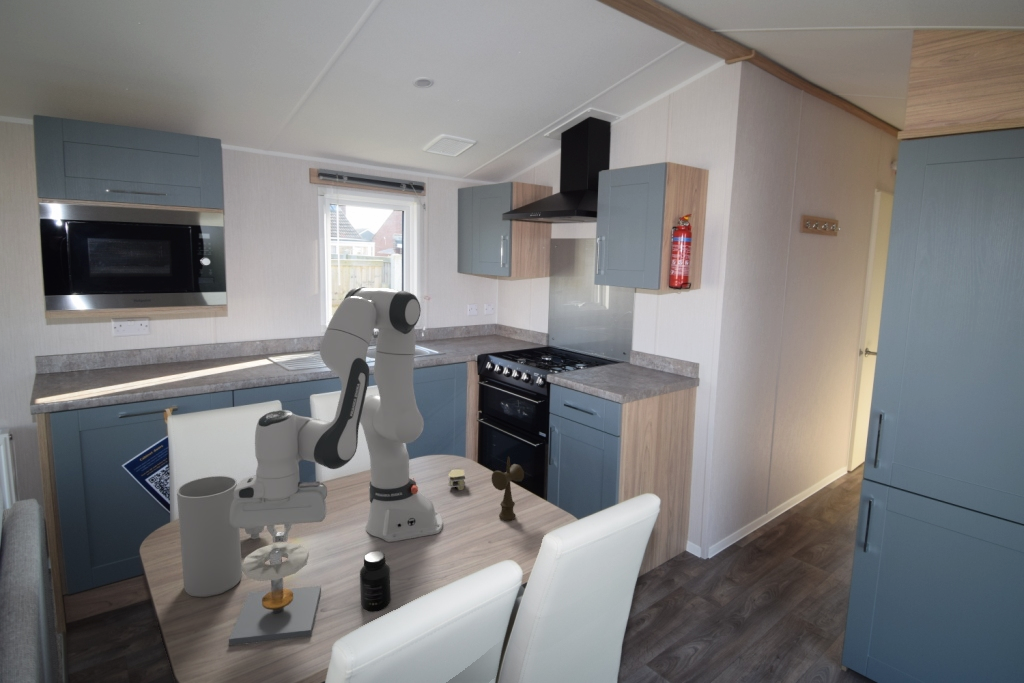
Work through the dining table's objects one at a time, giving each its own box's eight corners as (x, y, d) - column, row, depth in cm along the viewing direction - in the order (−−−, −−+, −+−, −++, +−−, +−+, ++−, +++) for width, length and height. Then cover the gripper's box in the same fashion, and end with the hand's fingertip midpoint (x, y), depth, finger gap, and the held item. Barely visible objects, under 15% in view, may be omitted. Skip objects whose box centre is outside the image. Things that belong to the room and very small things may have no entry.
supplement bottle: (363, 595, 131) (362, 548, 129) (392, 594, 131) (391, 547, 129) (357, 613, 124) (356, 564, 122) (388, 612, 124) (387, 563, 123)
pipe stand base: (321, 591, 132) (320, 585, 131) (310, 636, 116) (310, 629, 116) (249, 598, 128) (249, 592, 128) (229, 645, 113) (228, 639, 113)
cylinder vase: (180, 603, 126) (172, 501, 122) (188, 574, 137) (181, 480, 133) (241, 591, 131) (235, 492, 127) (243, 564, 142) (238, 473, 138)
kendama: (489, 520, 169) (490, 458, 166) (510, 509, 176) (511, 450, 173) (504, 526, 165) (505, 463, 162) (524, 515, 173) (526, 455, 170)
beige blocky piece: (444, 482, 197) (444, 468, 197) (469, 482, 198) (469, 467, 198) (443, 494, 188) (443, 479, 187) (469, 493, 189) (469, 478, 188)
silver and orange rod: (296, 600, 126) (293, 543, 124) (290, 618, 120) (288, 558, 118) (266, 603, 125) (263, 545, 122) (259, 621, 118) (256, 561, 116)
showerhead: (248, 503, 161) (278, 507, 159) (249, 527, 162) (280, 531, 160) (225, 518, 152) (257, 522, 150) (227, 543, 153) (259, 547, 151)
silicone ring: (311, 545, 128) (311, 540, 128) (302, 577, 115) (302, 571, 115) (251, 550, 125) (251, 545, 125) (235, 583, 113) (235, 578, 113)
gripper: (328, 475, 128) (329, 530, 130) (233, 480, 124) (236, 537, 126) (324, 486, 122) (326, 544, 124) (225, 492, 118) (228, 551, 120)
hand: (280, 541), depth 125 cm, fingers closed
